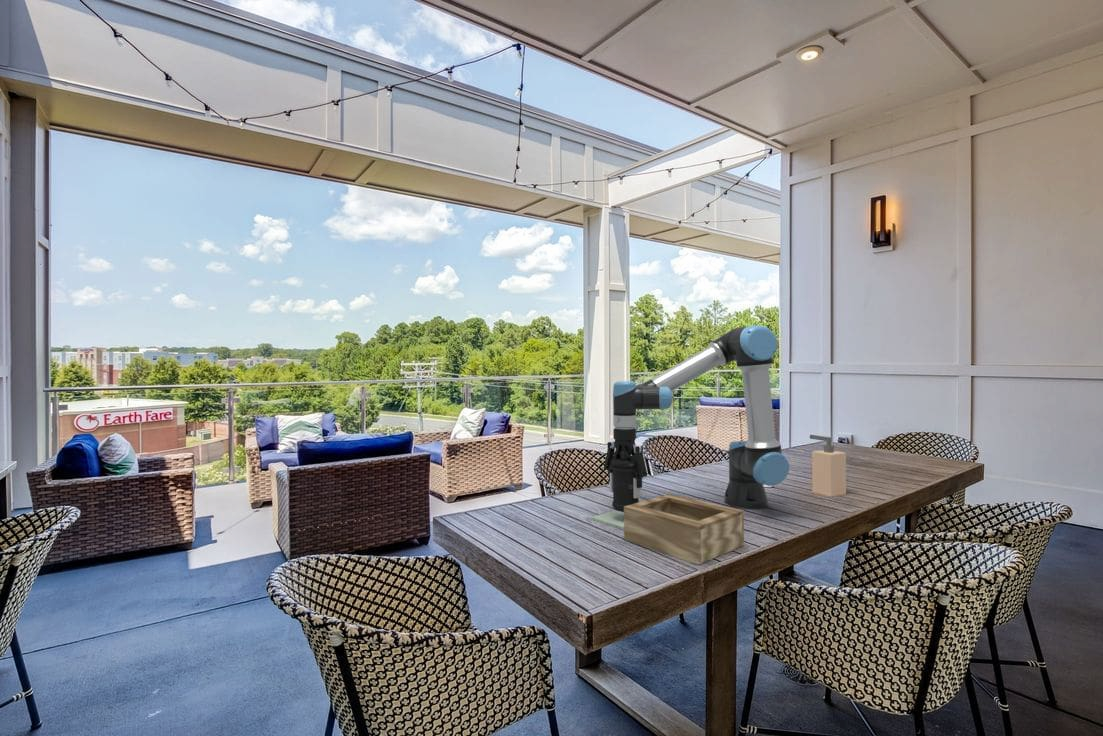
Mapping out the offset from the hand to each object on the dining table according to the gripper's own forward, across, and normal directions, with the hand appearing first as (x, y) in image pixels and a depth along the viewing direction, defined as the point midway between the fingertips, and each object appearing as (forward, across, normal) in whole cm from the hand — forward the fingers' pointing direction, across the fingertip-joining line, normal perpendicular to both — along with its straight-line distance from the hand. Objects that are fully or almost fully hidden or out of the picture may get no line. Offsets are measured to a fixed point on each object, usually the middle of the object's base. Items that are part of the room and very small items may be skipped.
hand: (625, 494), depth 179 cm
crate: (+9, +26, -4) cm, 28 cm away
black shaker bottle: (+5, 0, 0) cm, 5 cm away
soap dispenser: (+9, +28, +86) cm, 91 cm away
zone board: (+9, 0, 0) cm, 9 cm away
